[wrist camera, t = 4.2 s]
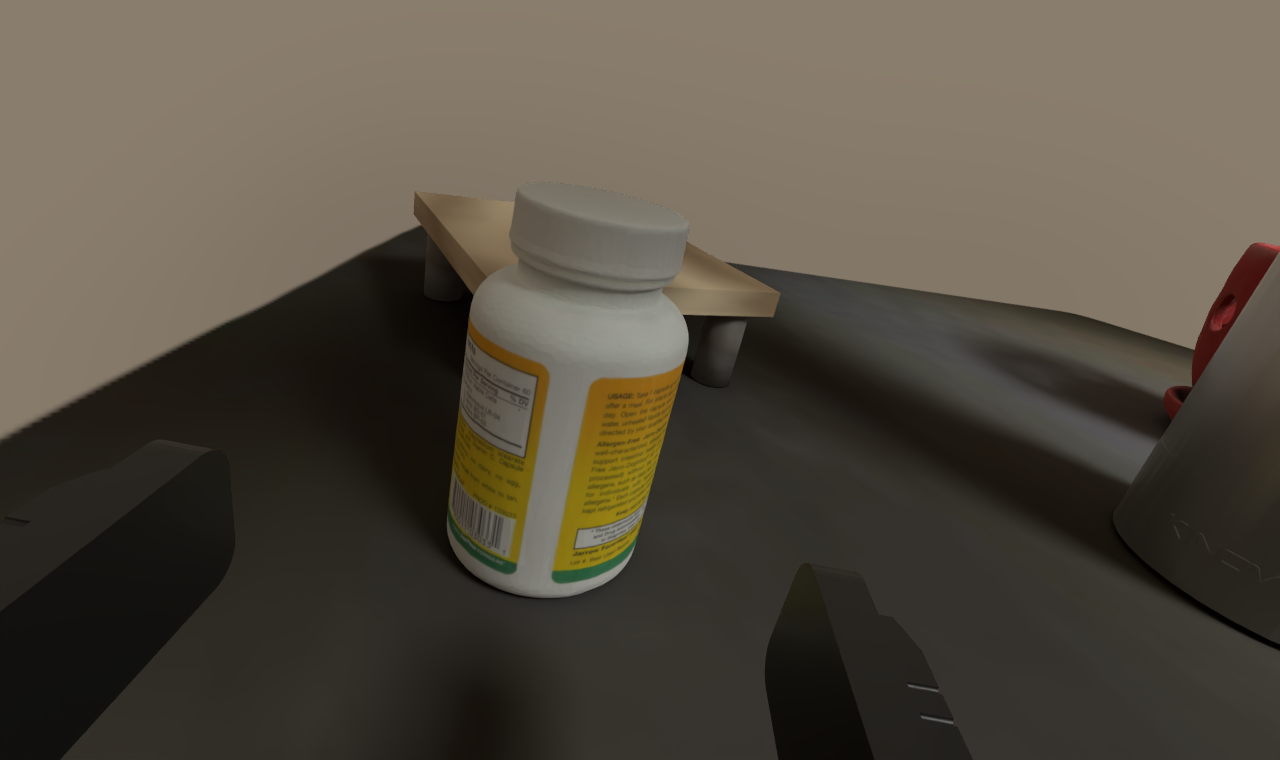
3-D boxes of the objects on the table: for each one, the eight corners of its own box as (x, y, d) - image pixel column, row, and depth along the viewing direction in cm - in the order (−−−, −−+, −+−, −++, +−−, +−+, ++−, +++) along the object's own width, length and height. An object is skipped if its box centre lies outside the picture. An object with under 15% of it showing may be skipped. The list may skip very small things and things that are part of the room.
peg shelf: (626, 294, 42) (642, 217, 40) (750, 390, 32) (780, 293, 29) (409, 284, 35) (414, 190, 33) (473, 404, 25) (487, 277, 22)
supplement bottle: (418, 587, 16) (450, 192, 12) (472, 469, 21) (507, 164, 17) (633, 621, 16) (733, 252, 12) (634, 498, 21) (706, 207, 17)
